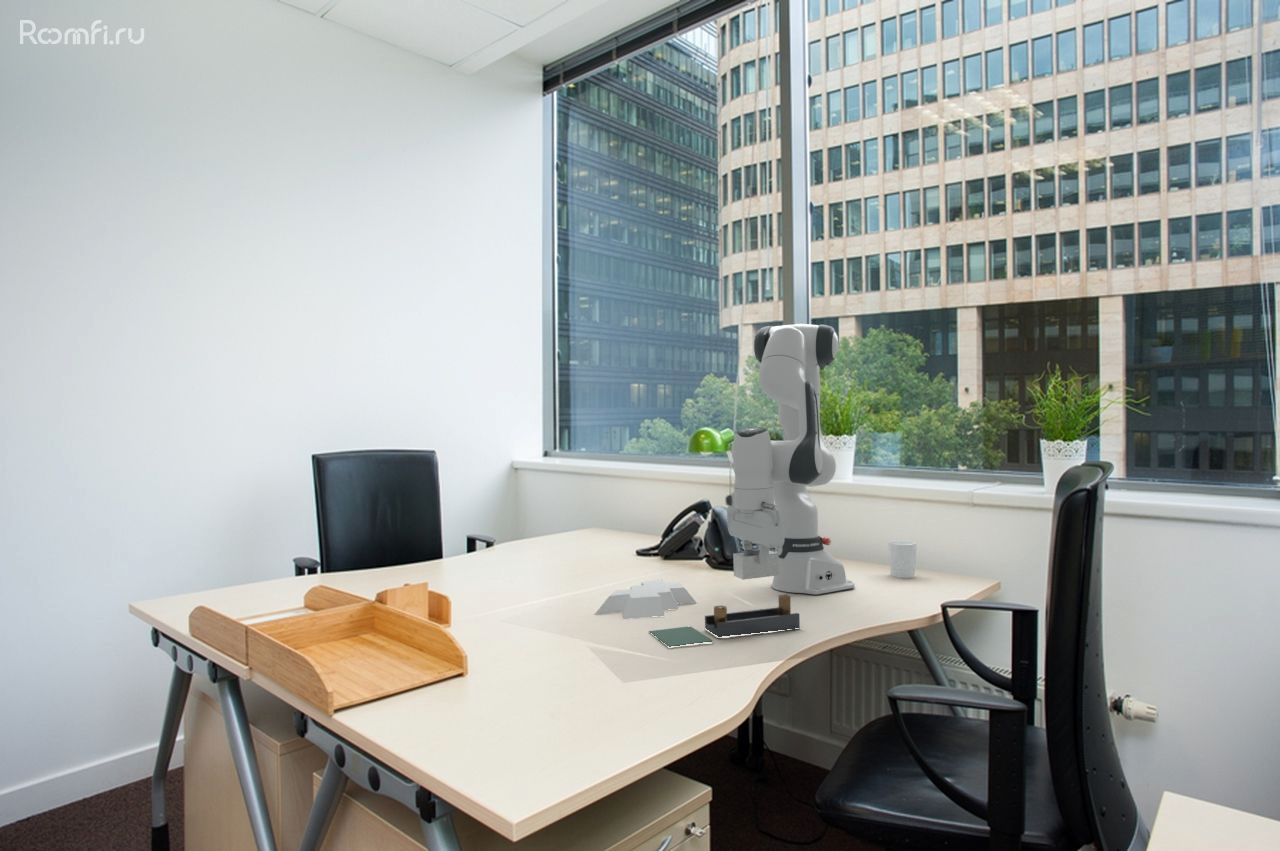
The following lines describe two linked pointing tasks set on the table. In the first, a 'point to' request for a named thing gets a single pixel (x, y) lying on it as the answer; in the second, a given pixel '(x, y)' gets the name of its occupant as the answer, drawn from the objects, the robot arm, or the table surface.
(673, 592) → the white jagged cross block
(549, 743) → the table surface
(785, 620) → the dark grey channel holder
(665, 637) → the rubber mat
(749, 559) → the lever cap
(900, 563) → the white cup
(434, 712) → the table surface
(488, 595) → the table surface
